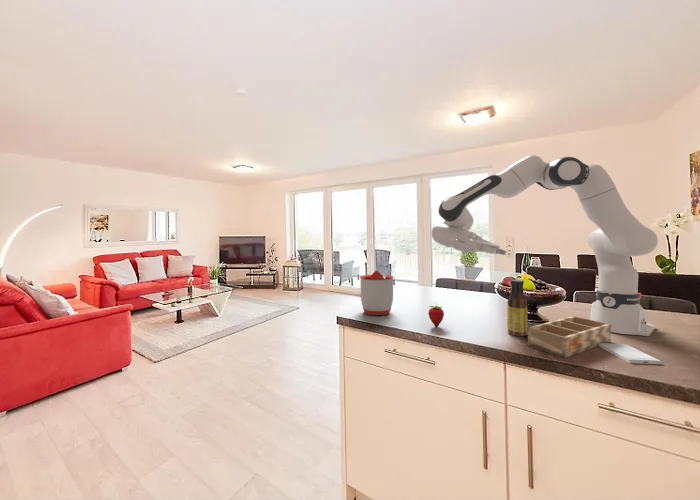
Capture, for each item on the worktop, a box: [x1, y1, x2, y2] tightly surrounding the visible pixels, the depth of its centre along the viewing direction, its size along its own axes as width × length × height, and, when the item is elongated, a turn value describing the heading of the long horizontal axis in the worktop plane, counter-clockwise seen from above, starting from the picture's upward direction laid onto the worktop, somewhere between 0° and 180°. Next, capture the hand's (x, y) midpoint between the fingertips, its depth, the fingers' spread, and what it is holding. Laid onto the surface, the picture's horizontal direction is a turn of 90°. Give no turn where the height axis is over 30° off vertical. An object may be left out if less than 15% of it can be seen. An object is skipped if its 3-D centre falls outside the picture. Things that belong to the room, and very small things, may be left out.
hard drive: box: [598, 343, 663, 365], centre depth 89 cm, size 2×8×12 cm
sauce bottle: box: [506, 279, 528, 337], centre depth 107 cm, size 7×6×20 cm
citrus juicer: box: [359, 270, 394, 316], centre depth 138 cm, size 16×17×20 cm
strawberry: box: [428, 303, 445, 328], centre depth 116 cm, size 6×8×10 cm
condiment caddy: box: [527, 315, 612, 359], centre depth 97 cm, size 27×12×6 cm, turn 117°
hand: (500, 252), depth 110 cm, fingers open, 8 cm apart
